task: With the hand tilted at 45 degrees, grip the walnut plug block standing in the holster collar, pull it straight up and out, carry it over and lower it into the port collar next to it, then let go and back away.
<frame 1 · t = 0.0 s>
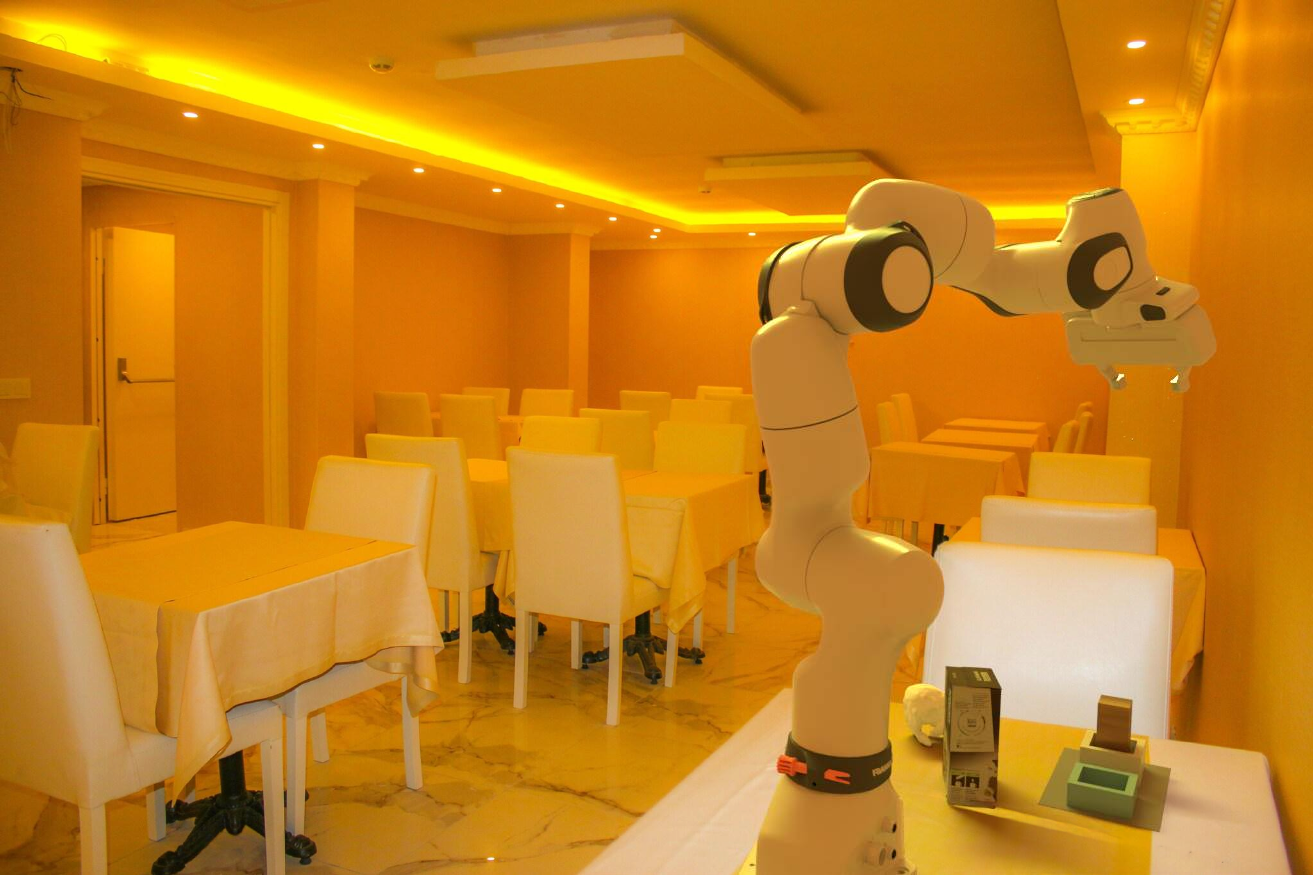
hand: (1149, 389, 138), 54 cm above the table, tool tilted 30°, fingers open, 8 cm apart
plug: (1111, 770, 137), point 1 cm above the table, touching caddy
white lumpy rounded piece: (941, 740, 151), on the table
coffee box: (968, 793, 132), on the table
caddy: (1106, 792, 132), on the table
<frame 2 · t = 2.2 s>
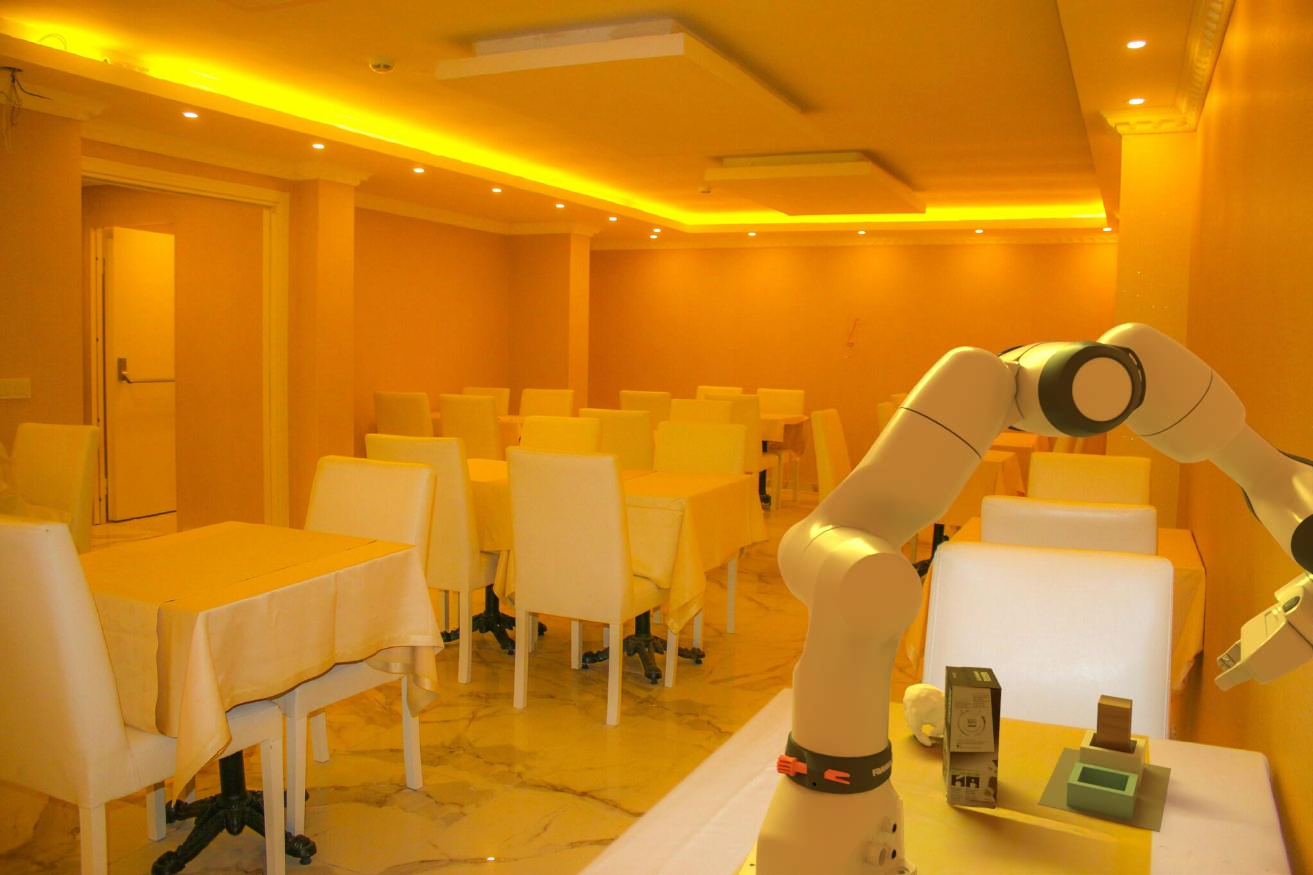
hand: (1219, 675, 129), 17 cm above the table, tool tilted 45°, fingers open, 8 cm apart
nothing on the table moved.
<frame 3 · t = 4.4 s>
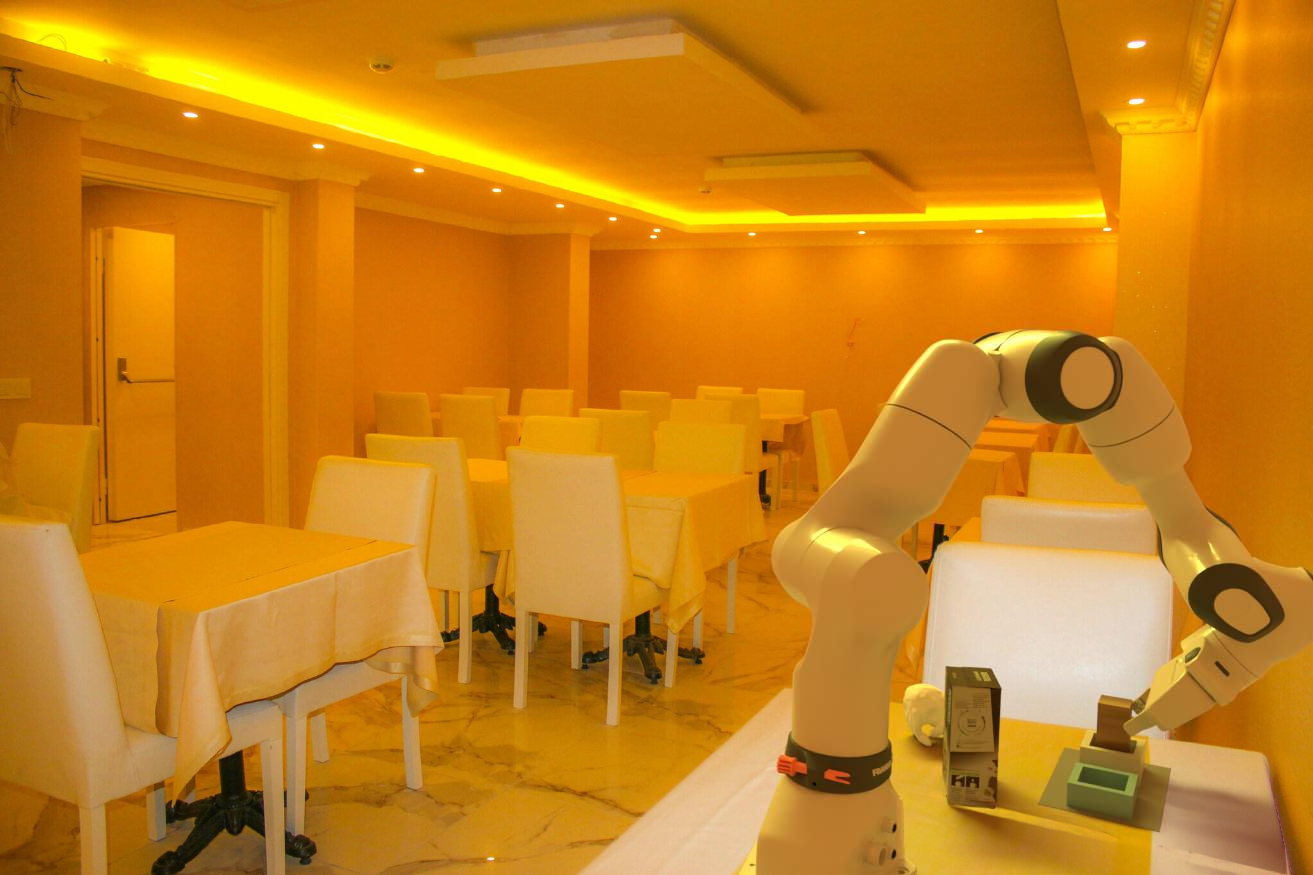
hand: (1130, 719, 135), 9 cm above the table, tool tilted 45°, fingers open, 8 cm apart
nothing on the table moved.
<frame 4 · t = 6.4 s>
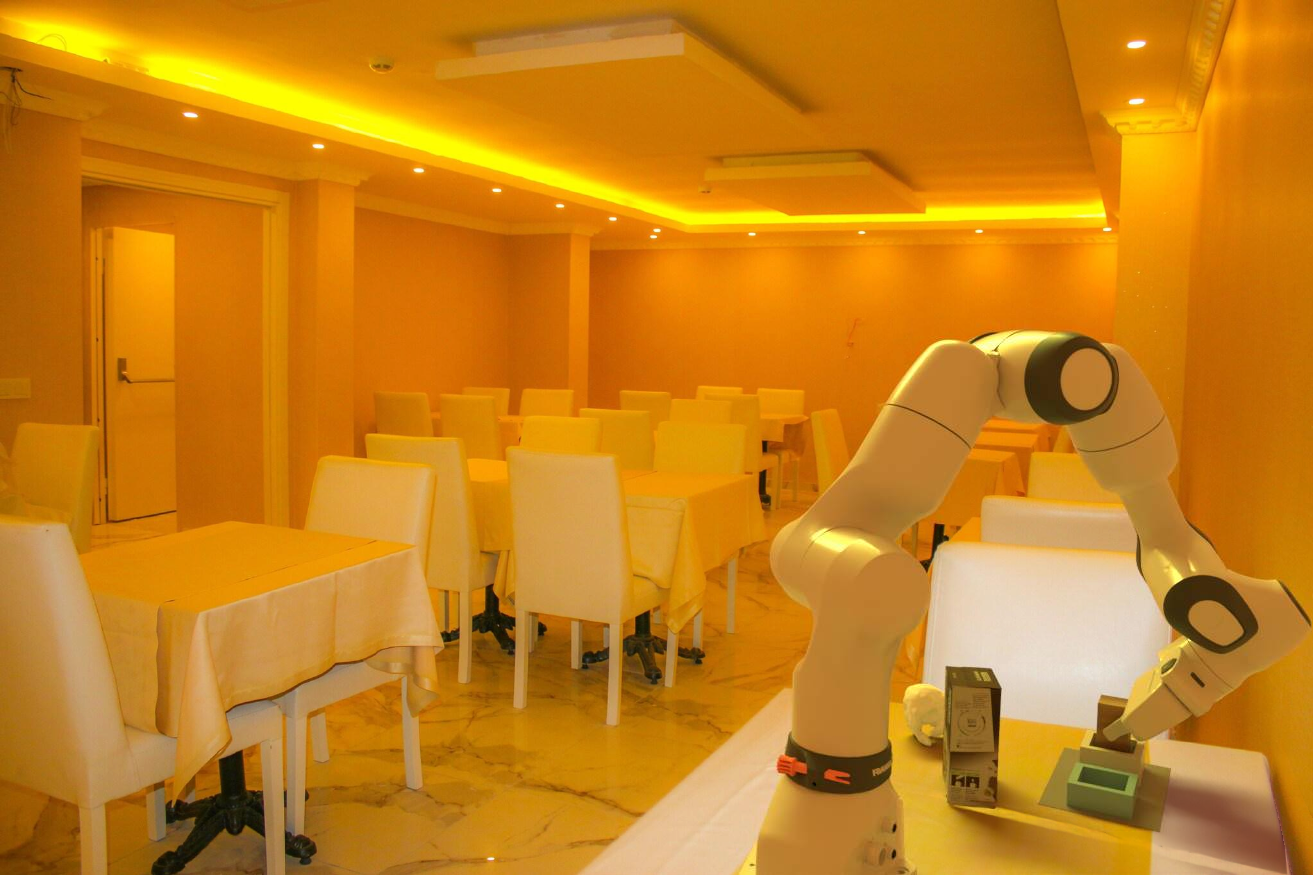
hand: (1108, 729, 137), 7 cm above the table, tool tilted 45°, fingers closed on plug, 4 cm apart
plug: (1111, 770, 137), point 1 cm above the table, touching caddy, gripper
everything else where it was.
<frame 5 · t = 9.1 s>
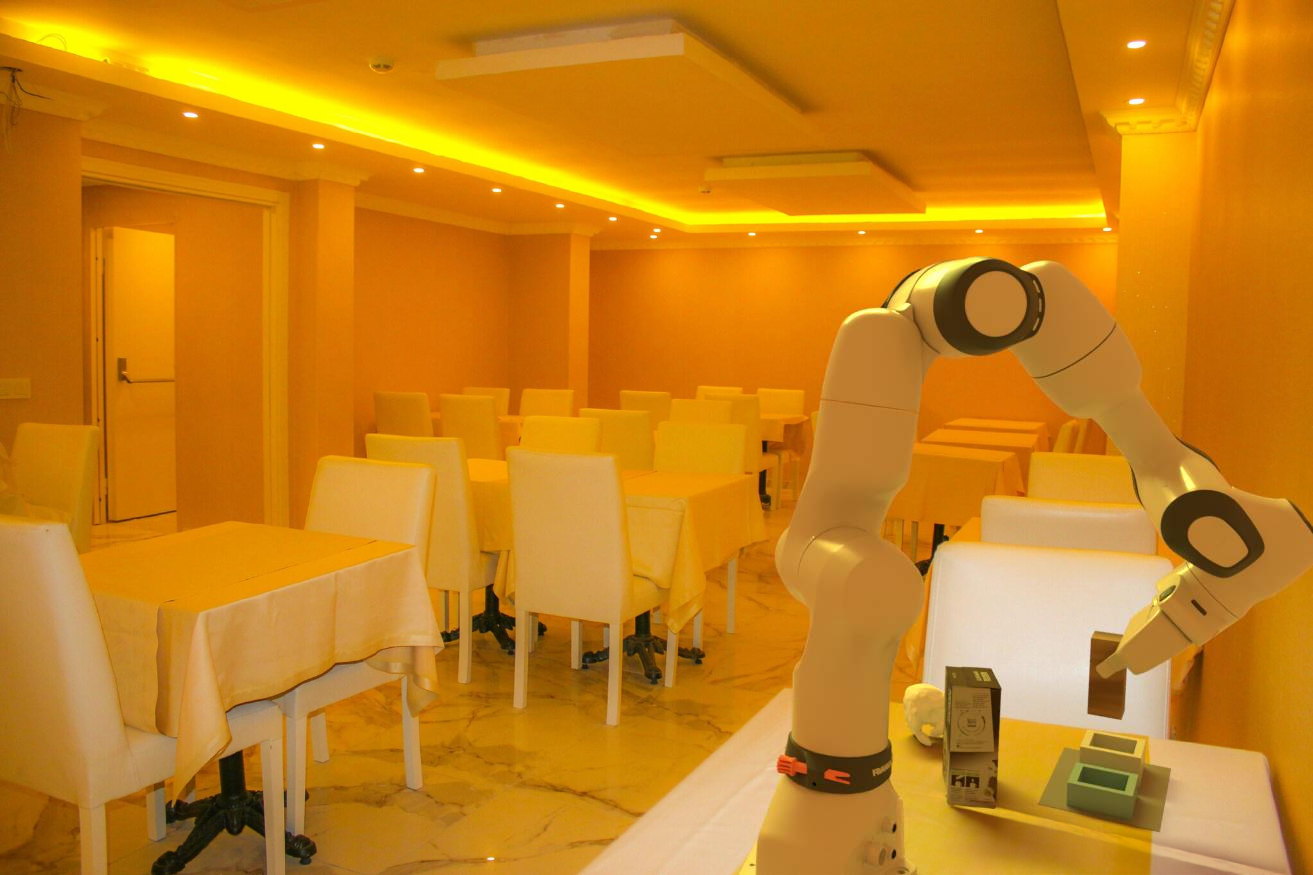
hand: (1102, 667, 127), 19 cm above the table, tool tilted 45°, fingers closed on plug, 4 cm apart
plug: (1106, 712, 127), point 13 cm above the table, touching gripper
everything else where it was.
when the fingers open (8 cm above the table, at t = 12.2 s): plug drops 1 cm, resting on caddy.
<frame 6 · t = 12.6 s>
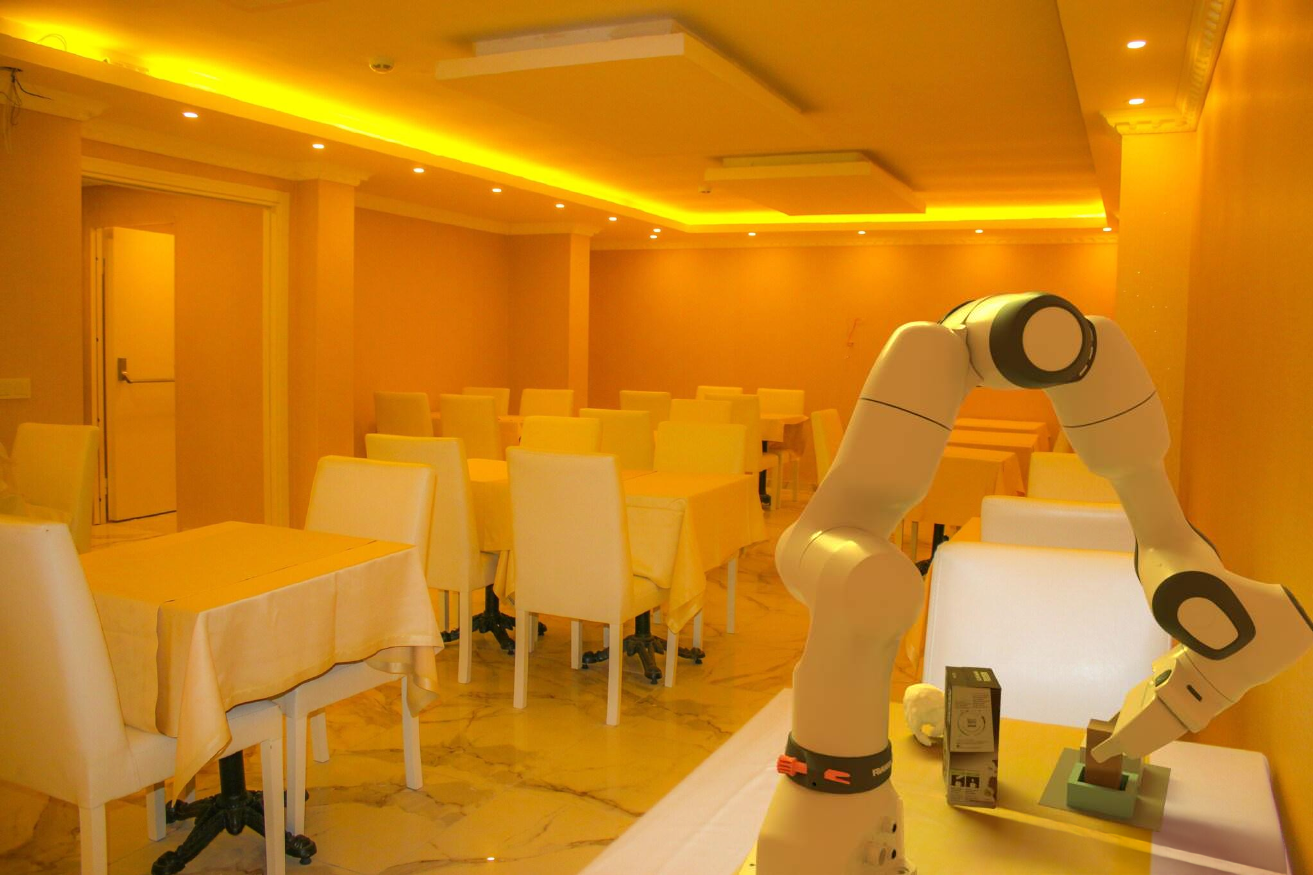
hand: (1099, 744, 127), 8 cm above the table, tool tilted 45°, fingers open, 8 cm apart
plug: (1102, 800, 128), point 1 cm above the table, touching caddy
everything else where it was.
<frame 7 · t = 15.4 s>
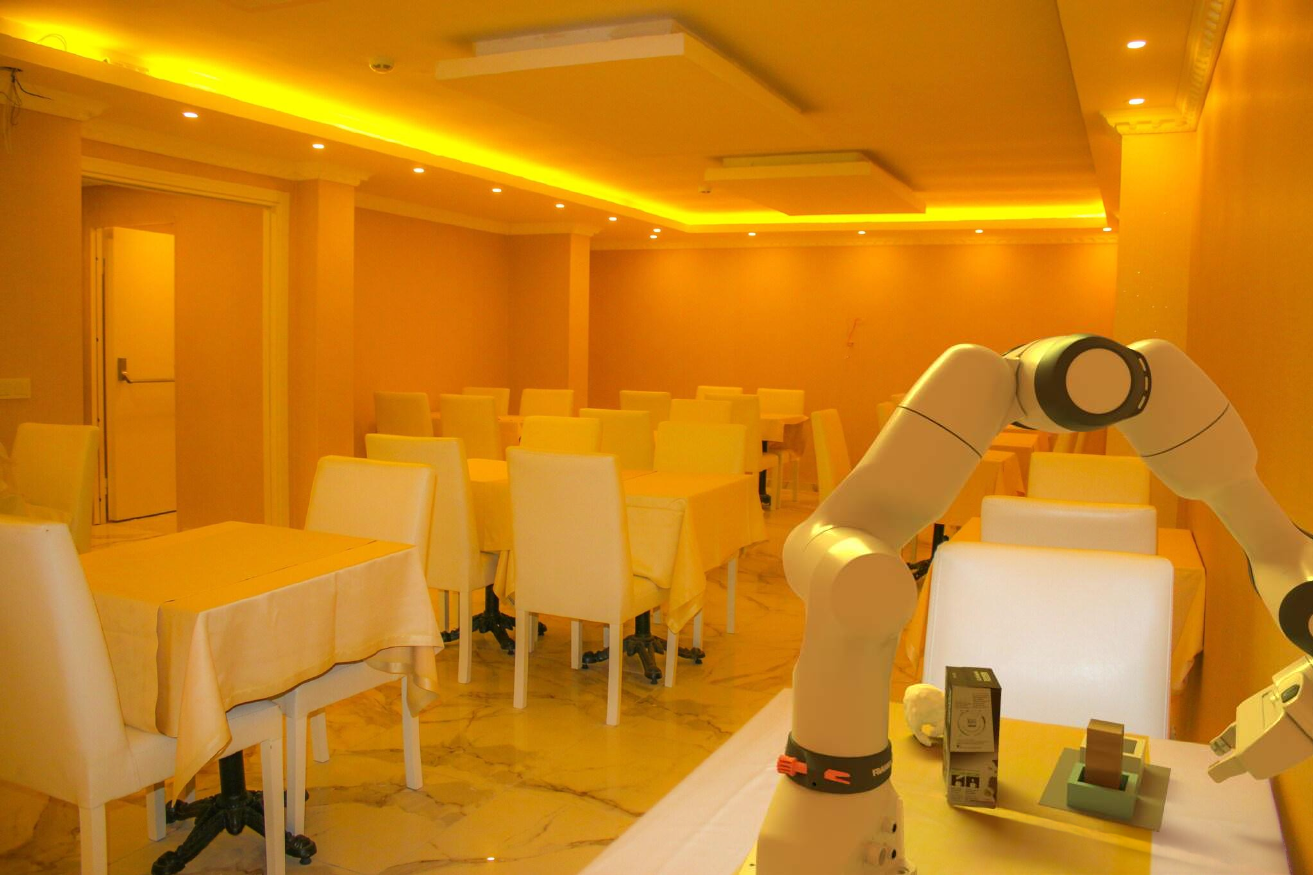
hand: (1212, 762, 121), 9 cm above the table, tool tilted 45°, fingers open, 8 cm apart
nothing on the table moved.
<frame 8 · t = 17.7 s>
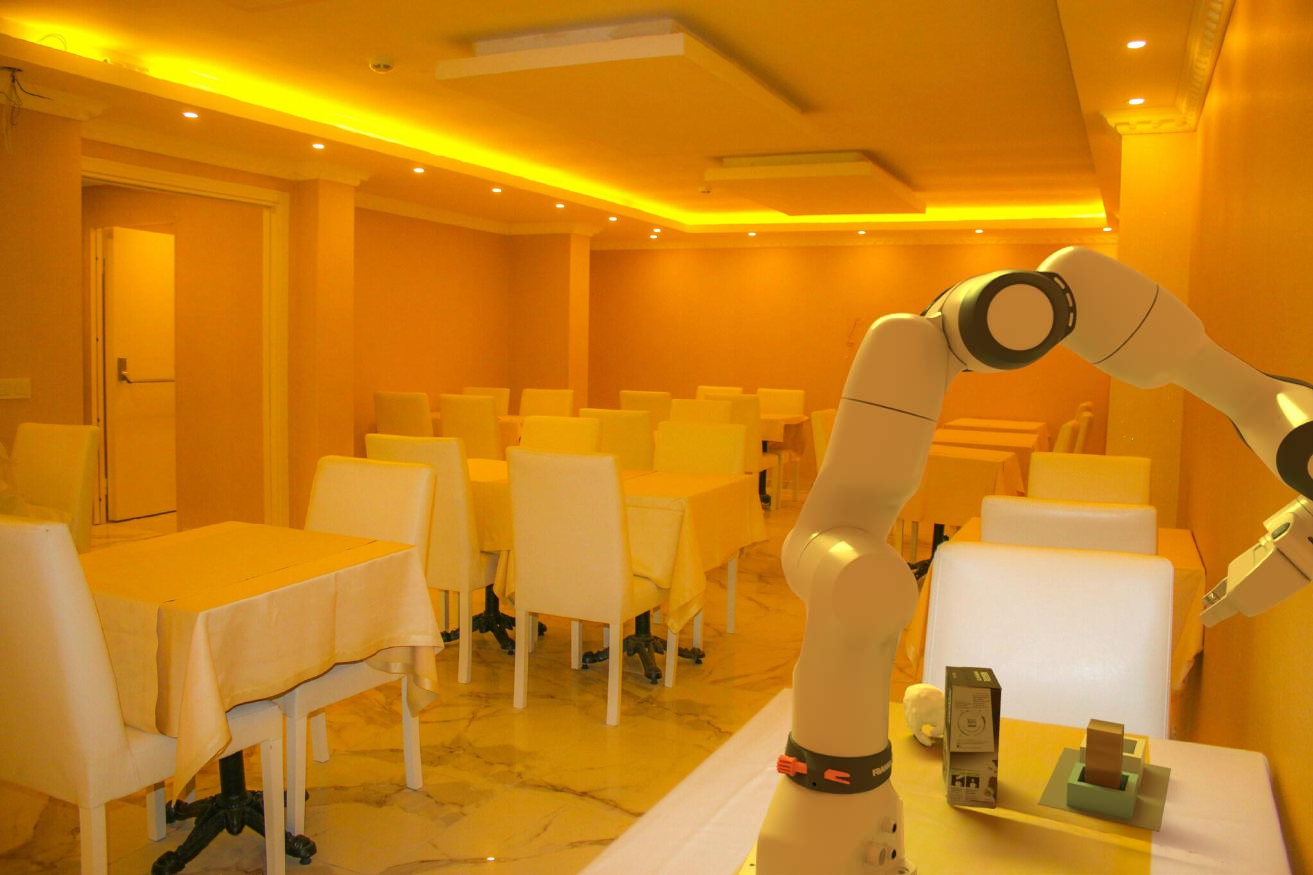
hand: (1204, 613, 120), 27 cm above the table, tool tilted 45°, fingers open, 8 cm apart
nothing on the table moved.
at the end: plug 0.1 cm from the target spot on the caddy, point 1.0 cm above the caddy's base; plug tilted 0°; the gripper is holding nothing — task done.
